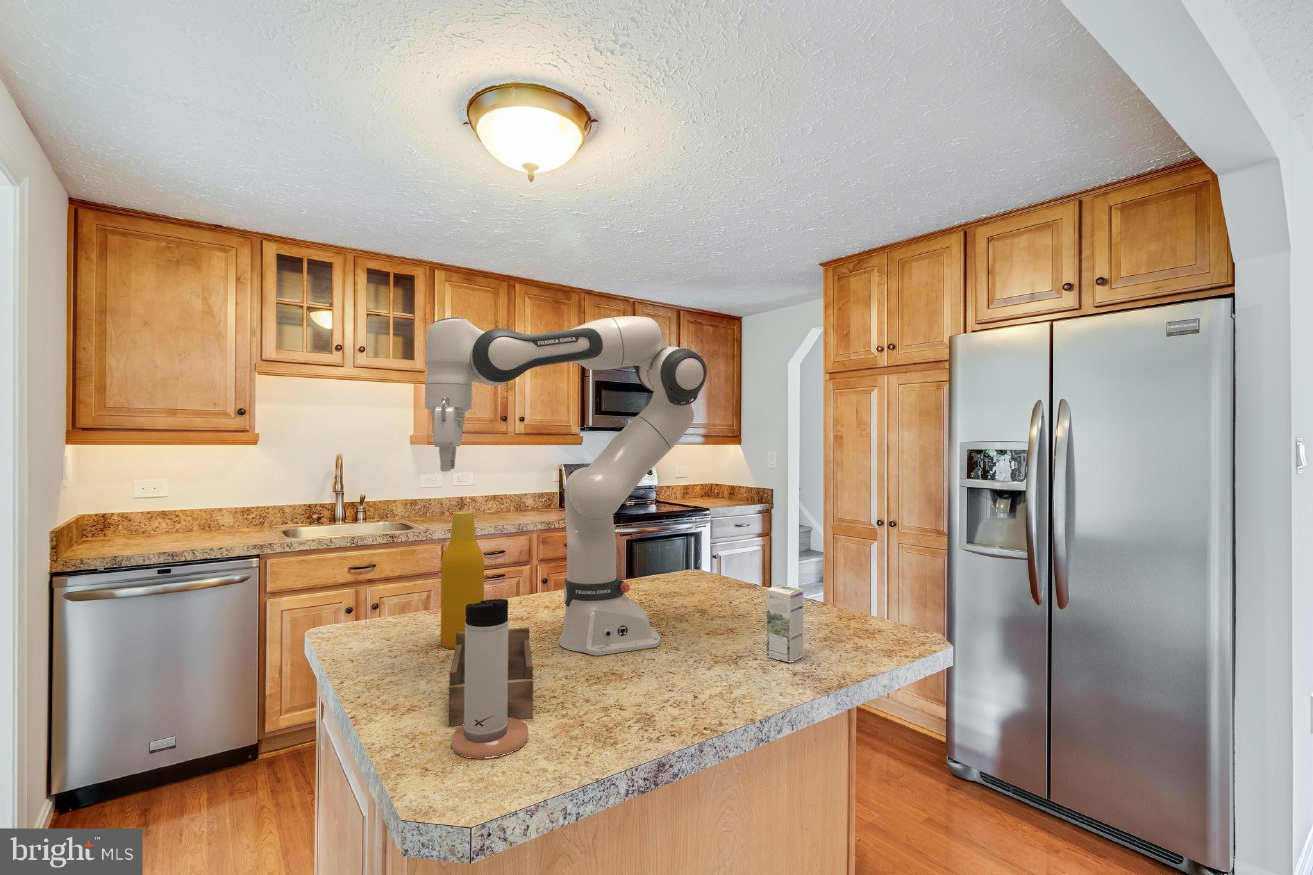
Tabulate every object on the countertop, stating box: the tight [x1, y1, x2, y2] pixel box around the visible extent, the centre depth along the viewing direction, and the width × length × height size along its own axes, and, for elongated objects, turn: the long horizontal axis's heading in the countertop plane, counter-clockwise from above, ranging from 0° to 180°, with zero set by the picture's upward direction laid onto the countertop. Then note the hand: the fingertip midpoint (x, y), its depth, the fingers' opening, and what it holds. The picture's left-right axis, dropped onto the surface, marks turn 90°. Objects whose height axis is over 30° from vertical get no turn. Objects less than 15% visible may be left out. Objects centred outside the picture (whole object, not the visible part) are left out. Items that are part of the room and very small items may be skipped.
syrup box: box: [766, 584, 804, 661], centre depth 130 cm, size 6×6×14 cm
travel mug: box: [464, 598, 509, 742], centre depth 93 cm, size 6×7×20 cm
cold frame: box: [448, 627, 534, 727], centre depth 107 cm, size 13×16×10 cm
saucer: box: [451, 717, 529, 758], centre depth 93 cm, size 11×11×1 cm
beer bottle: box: [439, 511, 485, 650], centre depth 139 cm, size 9×9×29 cm
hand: (447, 470), depth 123 cm, fingers open, 8 cm apart
